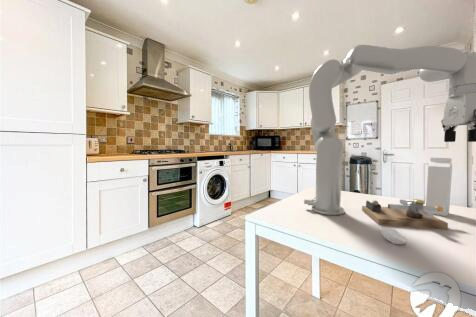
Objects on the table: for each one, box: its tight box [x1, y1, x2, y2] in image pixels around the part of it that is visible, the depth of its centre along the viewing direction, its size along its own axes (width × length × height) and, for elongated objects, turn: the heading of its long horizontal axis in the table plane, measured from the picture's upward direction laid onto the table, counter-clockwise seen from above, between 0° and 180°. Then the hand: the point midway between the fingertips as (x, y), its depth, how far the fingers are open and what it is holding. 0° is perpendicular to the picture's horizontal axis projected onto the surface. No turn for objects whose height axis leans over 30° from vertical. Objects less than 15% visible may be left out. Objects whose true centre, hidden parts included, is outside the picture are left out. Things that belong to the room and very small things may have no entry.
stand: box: [361, 199, 449, 230], centre depth 76 cm, size 20×15×6 cm
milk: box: [425, 157, 453, 217], centre depth 81 cm, size 6×6×22 cm
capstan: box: [387, 198, 443, 219], centre depth 72 cm, size 16×16×6 cm
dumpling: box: [380, 226, 409, 245], centre depth 58 cm, size 7×5×4 cm
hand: (461, 141), depth 72 cm, fingers open, 9 cm apart
